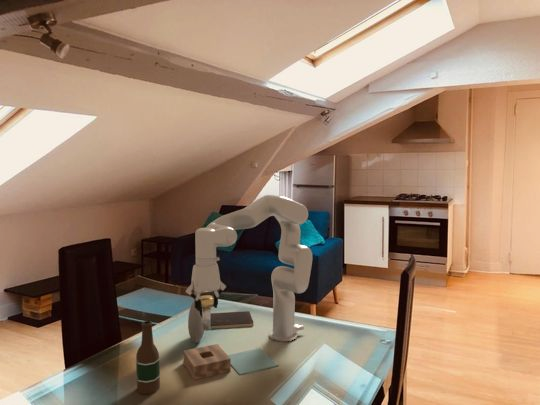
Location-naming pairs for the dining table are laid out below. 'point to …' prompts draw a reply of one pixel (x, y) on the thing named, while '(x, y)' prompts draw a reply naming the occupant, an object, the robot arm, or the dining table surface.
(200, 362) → the block
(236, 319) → the hardcover book
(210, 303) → the pin
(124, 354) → the dining table surface
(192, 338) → the planter
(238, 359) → the mat
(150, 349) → the beer bottle
